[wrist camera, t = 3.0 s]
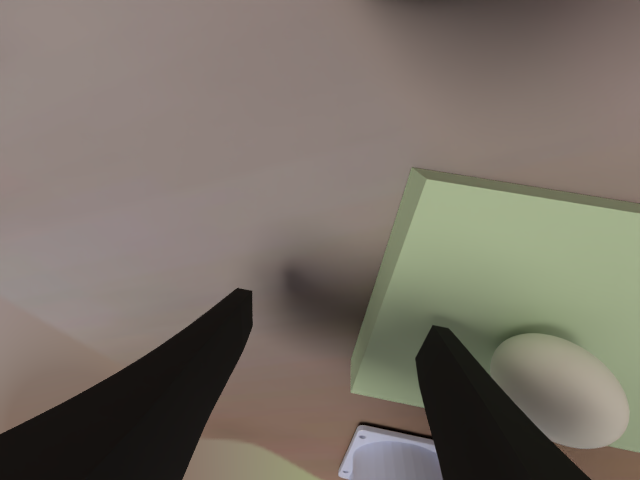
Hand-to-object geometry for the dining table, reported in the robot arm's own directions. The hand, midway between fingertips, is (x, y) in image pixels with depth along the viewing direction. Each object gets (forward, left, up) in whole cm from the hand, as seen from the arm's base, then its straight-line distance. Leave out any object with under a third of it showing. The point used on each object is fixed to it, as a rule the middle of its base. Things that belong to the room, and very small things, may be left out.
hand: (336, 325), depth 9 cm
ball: (0, -8, +1) cm, 8 cm away
